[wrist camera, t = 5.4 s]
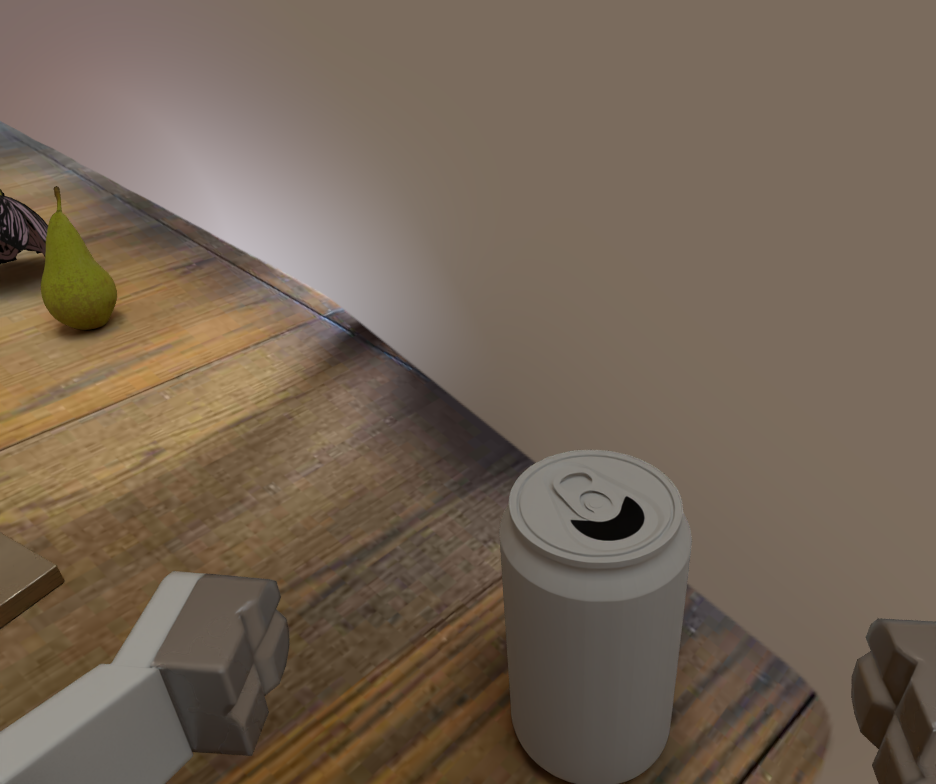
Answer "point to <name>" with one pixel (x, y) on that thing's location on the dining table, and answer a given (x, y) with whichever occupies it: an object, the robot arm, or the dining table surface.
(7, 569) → the bracket
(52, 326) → the dining table surface
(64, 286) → the fruit
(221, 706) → the robot arm
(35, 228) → the decorative flower
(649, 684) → the beverage can
